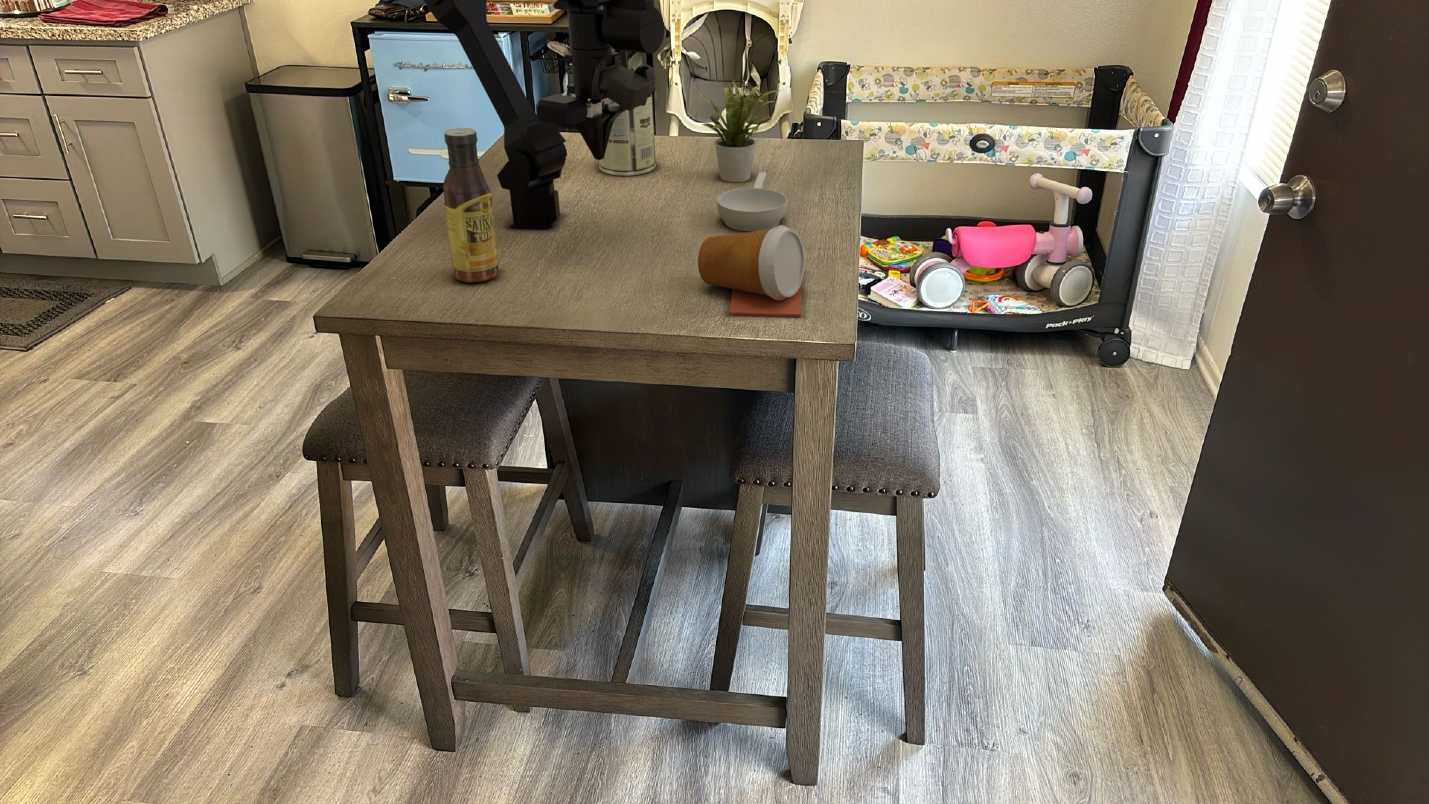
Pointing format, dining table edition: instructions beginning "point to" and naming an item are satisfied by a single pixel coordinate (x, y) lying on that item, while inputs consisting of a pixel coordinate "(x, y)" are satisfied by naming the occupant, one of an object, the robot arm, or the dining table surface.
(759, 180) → the saucepan
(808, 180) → the dining table surface
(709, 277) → the disposable coffee cup
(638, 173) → the coffee can
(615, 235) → the dining table surface
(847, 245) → the dining table surface
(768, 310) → the mat
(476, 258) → the sauce bottle
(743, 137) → the house plant
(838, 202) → the dining table surface
